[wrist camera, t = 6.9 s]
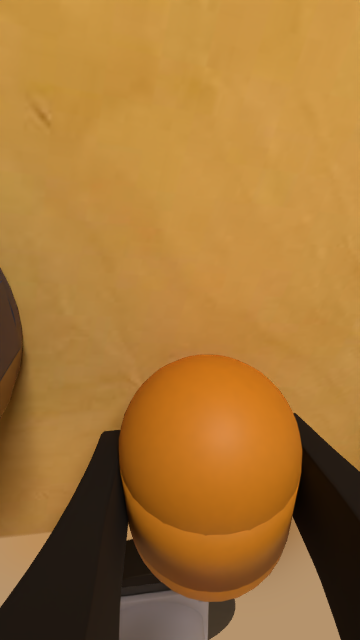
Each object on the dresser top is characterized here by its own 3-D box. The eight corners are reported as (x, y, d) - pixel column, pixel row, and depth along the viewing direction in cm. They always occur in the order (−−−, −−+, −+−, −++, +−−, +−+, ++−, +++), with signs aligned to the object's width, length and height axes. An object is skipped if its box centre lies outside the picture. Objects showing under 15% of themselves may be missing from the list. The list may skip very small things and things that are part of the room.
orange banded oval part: (254, 474, 14) (306, 624, 10) (136, 487, 14) (132, 649, 9) (272, 318, 11) (366, 439, 6) (114, 330, 10) (93, 467, 6)
